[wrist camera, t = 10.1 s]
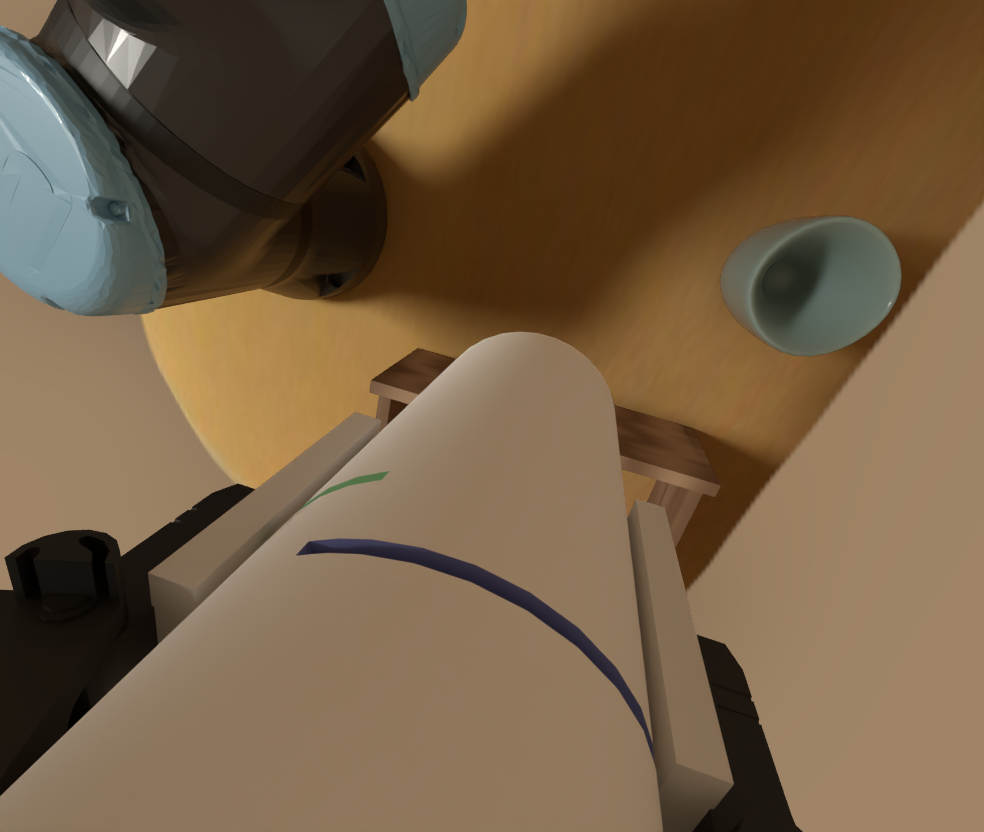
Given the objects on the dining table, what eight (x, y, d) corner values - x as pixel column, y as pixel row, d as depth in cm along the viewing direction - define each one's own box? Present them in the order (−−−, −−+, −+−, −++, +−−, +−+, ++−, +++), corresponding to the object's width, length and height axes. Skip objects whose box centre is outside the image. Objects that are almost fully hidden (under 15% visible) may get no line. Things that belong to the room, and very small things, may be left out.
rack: (392, 495, 50) (348, 554, 41) (417, 348, 43) (371, 380, 34) (626, 571, 48) (634, 651, 39) (693, 428, 41) (721, 485, 32)
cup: (690, 263, 36) (722, 276, 27) (791, 195, 33) (865, 183, 24) (740, 344, 38) (786, 381, 28) (841, 285, 35) (929, 306, 26)
